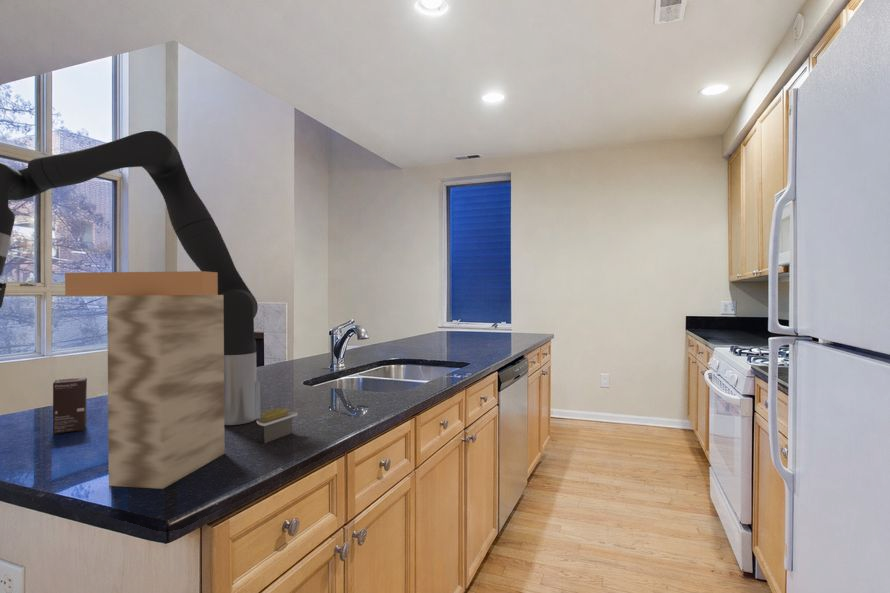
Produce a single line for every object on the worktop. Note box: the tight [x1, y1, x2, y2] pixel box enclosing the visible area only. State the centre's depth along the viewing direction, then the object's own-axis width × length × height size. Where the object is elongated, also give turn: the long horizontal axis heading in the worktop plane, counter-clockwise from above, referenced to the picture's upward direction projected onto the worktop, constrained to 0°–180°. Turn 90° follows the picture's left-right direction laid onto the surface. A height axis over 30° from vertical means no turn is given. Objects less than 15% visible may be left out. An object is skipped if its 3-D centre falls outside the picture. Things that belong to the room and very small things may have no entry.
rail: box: [64, 270, 218, 297], centre depth 81 cm, size 26×4×4 cm, turn 83°
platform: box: [256, 407, 298, 444], centre depth 104 cm, size 12×18×7 cm, turn 154°
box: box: [52, 377, 88, 435], centre depth 110 cm, size 6×4×12 cm
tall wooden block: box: [106, 295, 226, 490], centre depth 86 cm, size 10×17×32 cm, turn 173°
